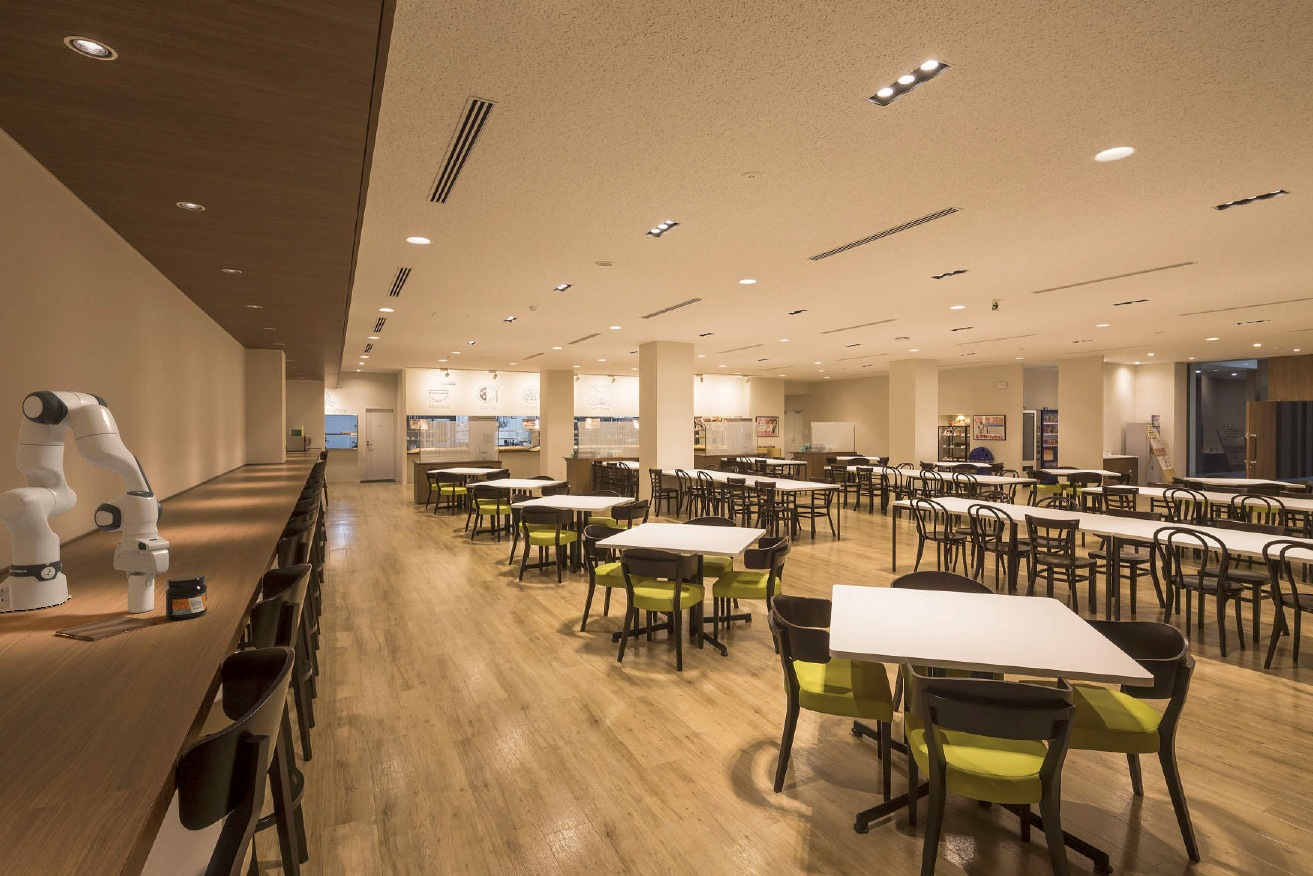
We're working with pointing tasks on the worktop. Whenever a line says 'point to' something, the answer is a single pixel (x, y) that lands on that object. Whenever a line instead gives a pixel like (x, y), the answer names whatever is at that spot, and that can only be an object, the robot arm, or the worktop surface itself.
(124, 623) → the walnut board
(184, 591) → the supplement container
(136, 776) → the worktop surface
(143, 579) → the can
